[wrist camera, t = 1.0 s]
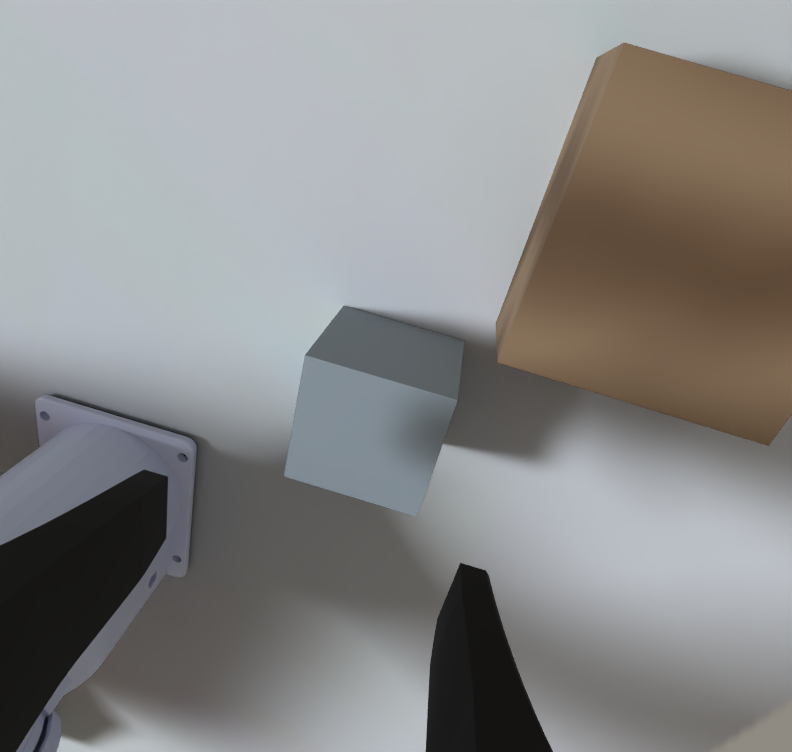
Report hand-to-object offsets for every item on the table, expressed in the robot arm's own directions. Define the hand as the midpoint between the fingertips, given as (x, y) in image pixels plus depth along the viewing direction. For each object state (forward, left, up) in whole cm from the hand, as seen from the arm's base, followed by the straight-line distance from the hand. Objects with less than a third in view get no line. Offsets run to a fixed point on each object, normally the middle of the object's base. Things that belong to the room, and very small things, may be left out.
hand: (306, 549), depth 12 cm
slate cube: (0, 0, -10) cm, 11 cm away
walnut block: (+8, -8, -11) cm, 16 cm away
